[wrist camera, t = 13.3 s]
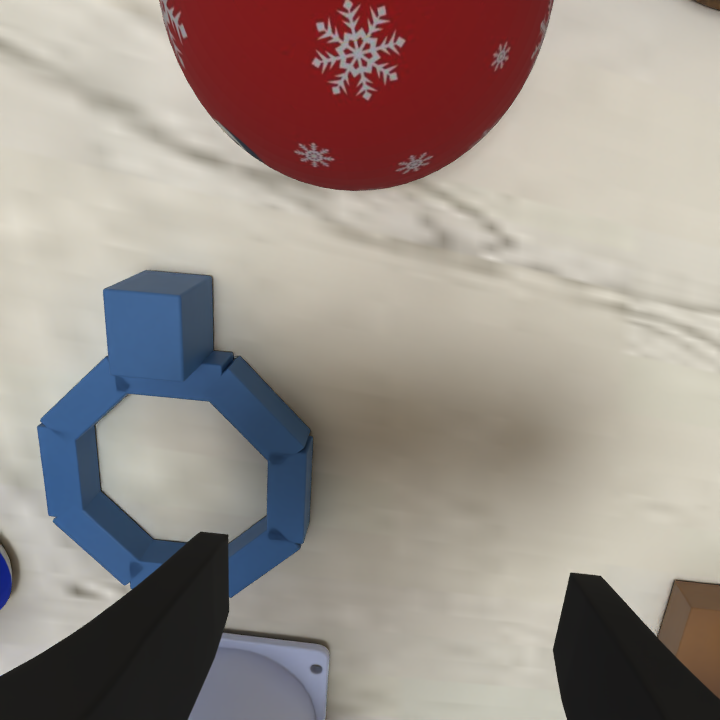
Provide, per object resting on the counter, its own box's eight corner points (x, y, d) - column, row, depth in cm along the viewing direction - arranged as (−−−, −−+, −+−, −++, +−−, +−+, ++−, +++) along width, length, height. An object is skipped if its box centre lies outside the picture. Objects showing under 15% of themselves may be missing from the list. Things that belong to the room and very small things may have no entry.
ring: (306, 584, 24) (292, 641, 21) (75, 557, 25) (32, 610, 22) (320, 284, 20) (304, 306, 17) (41, 260, 21) (-18, 278, 18)
